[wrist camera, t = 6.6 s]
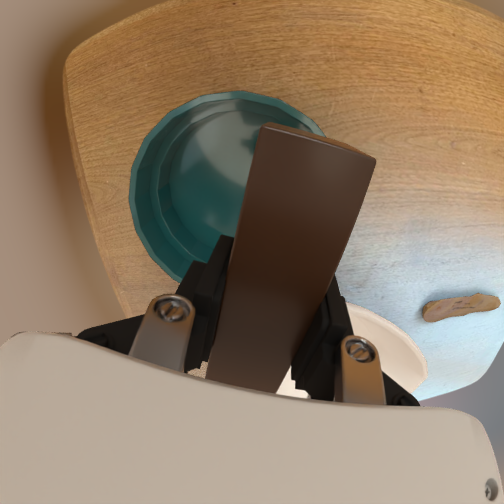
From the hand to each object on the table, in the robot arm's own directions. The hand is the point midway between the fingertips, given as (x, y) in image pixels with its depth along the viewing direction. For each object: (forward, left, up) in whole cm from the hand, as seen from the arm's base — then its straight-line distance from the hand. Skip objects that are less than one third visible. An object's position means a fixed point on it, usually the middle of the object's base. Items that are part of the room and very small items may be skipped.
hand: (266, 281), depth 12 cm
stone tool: (+7, +29, -17) cm, 35 cm away
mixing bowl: (+1, -3, -17) cm, 17 cm away
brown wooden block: (0, 0, -1) cm, 1 cm away
